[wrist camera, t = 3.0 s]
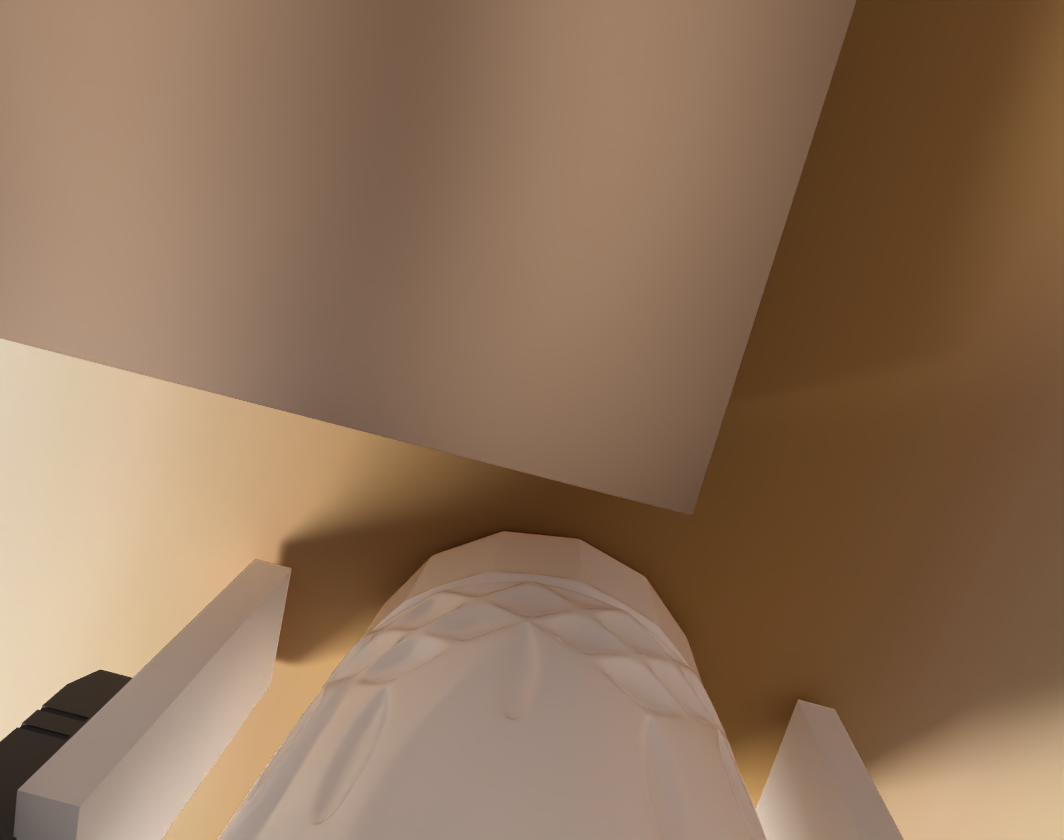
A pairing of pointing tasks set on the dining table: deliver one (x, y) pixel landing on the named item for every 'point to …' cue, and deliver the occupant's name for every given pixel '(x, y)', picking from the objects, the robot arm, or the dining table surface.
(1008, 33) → the dining table surface
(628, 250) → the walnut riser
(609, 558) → the white cup
